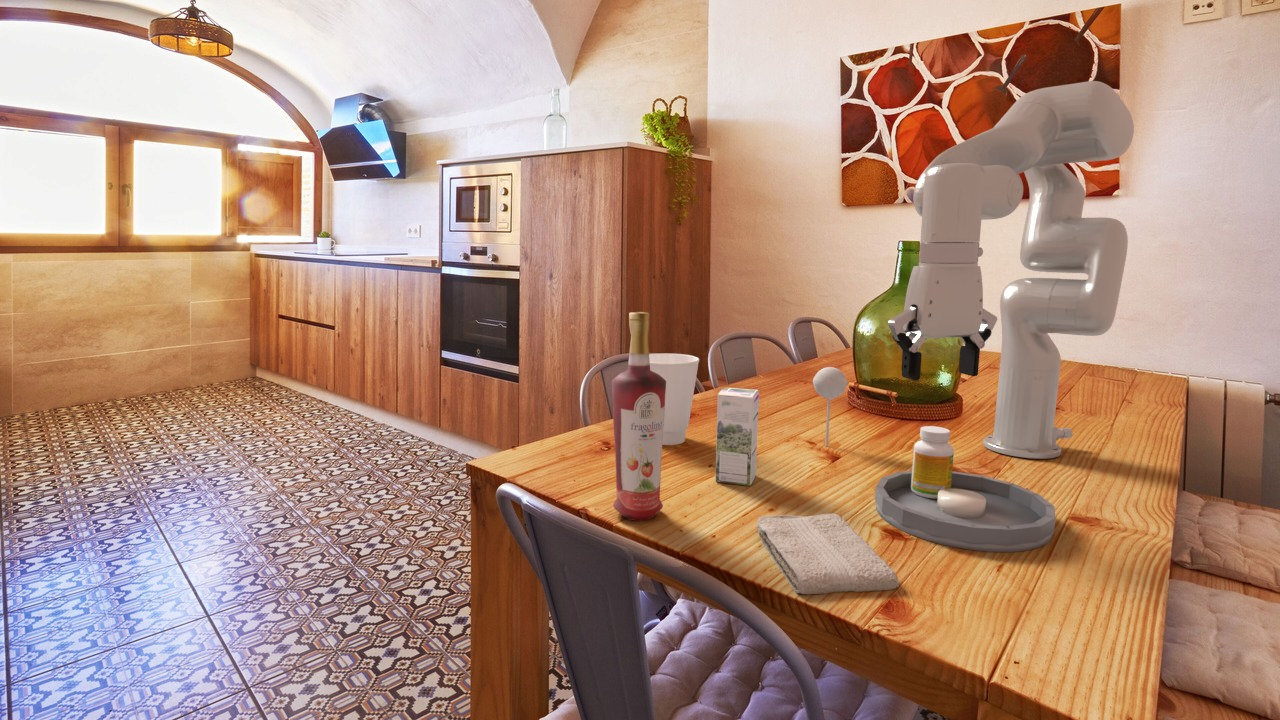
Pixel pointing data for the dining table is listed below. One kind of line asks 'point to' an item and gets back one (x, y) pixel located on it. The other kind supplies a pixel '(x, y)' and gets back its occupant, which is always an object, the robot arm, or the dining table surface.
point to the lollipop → (829, 387)
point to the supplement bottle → (932, 462)
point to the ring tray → (968, 513)
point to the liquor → (638, 428)
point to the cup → (676, 392)
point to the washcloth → (823, 555)
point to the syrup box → (737, 435)
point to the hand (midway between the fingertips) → (939, 376)
